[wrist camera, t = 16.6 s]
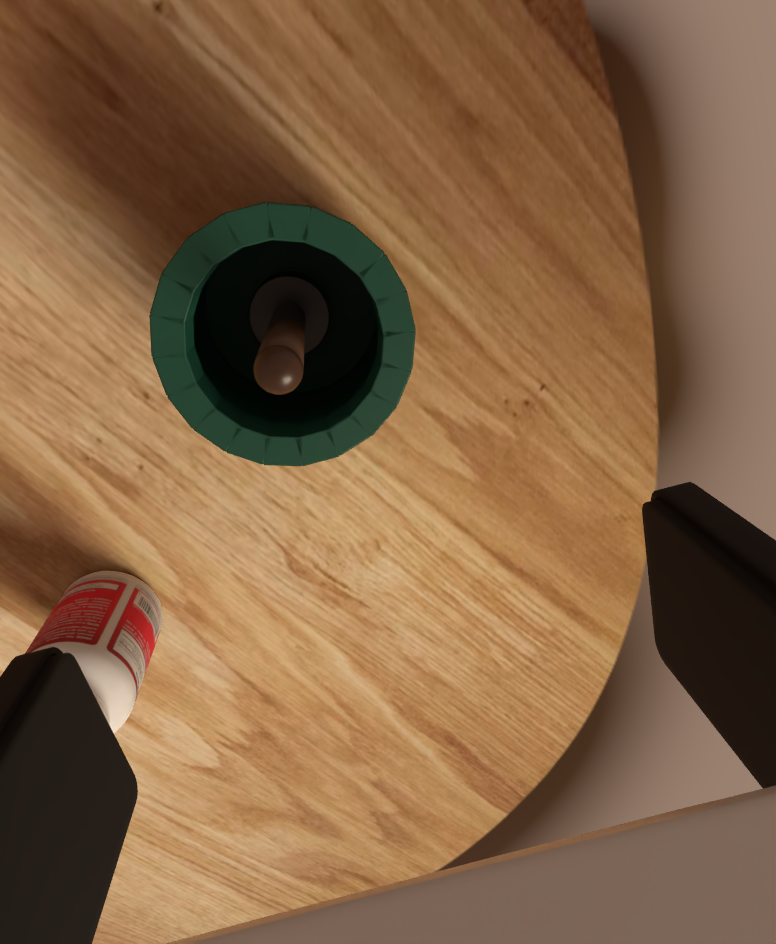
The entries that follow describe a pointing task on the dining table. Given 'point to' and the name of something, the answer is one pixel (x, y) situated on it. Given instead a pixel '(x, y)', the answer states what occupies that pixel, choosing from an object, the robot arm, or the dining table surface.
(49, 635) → the pill bottle
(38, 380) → the dining table surface
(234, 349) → the jar
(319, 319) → the brown pestle
